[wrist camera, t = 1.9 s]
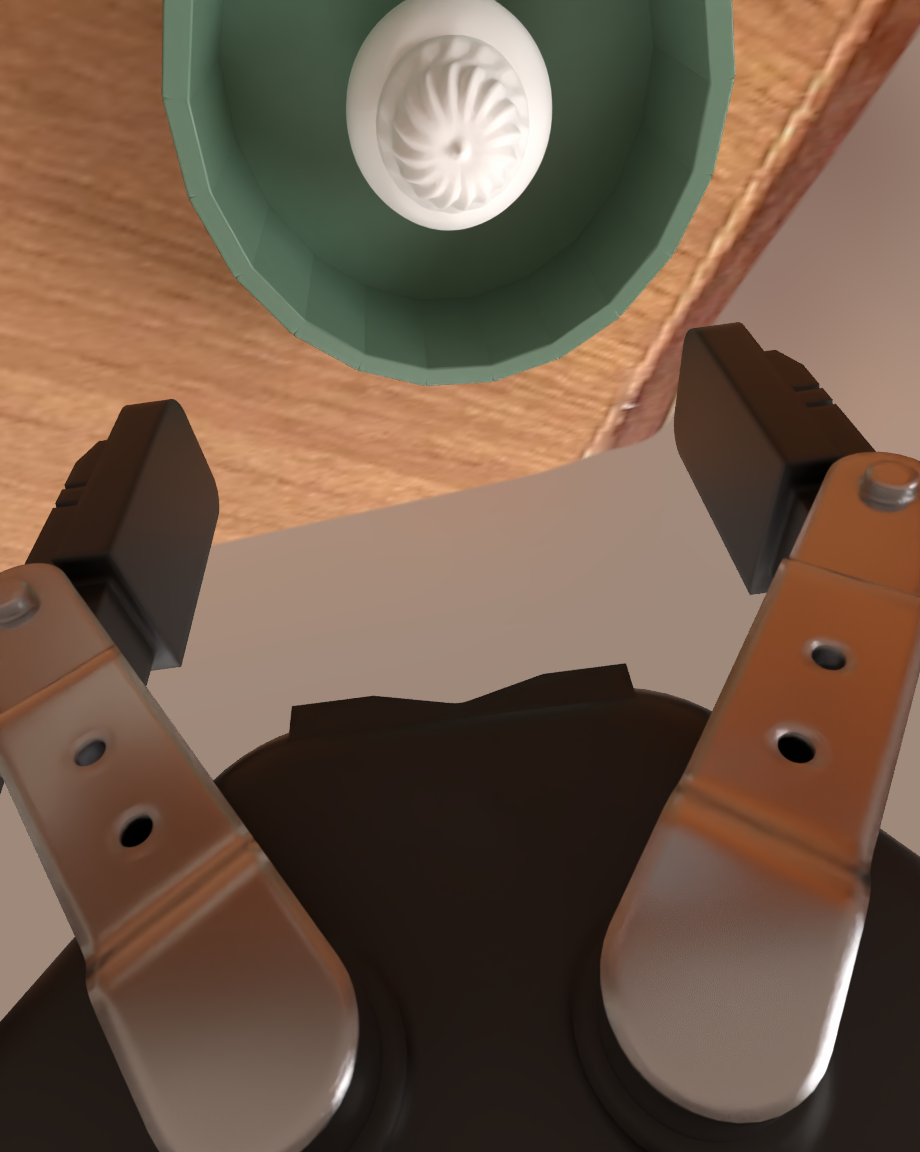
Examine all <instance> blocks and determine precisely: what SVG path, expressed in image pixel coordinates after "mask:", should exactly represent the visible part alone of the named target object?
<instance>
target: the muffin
mask: <svg viewBox="0 0 920 1152" xmlns="http://www.w3.org/2000/svg"><path fill="white" fill-rule="evenodd" d="M346 120H347V130H348V135H349V140H350V144H351V148H352V151H353V154H354V157H355V160H356V162H357V164H358V167H359V168H360V170H361V172H362V174H363V176H364V178H365V179H366V181H367V182H368V184H369V185H370V187H371V188H372V189H373V190H374V192H375V193H376V194H377V195H378V196H379V197H380V198H381V199H382V200H383V201H384V202H385V203H386V204H387V205H388V206H389V207H390V208H391V209H393V210H394V211H395V212H397V213H398V214H400V215H401V216H403V217H404V218H406V219H408V220H410V221H412V222H414V223H416V224H418V225H421V226H424V227H427V228H431V229H437V230H461V229H466V228H470V227H473V226H476V225H479V224H482V223H484V222H486V221H488V220H490V219H492V218H493V217H495V216H497V215H498V214H500V213H501V212H502V211H504V210H505V209H506V208H508V207H509V206H510V205H511V204H512V203H513V202H514V201H515V200H516V199H517V198H518V197H519V196H520V195H521V194H522V192H523V191H524V190H525V189H526V187H527V186H528V184H529V183H530V181H531V180H532V178H533V177H534V175H535V173H536V171H537V170H538V168H539V166H540V163H541V161H542V159H543V156H544V154H545V151H546V147H547V144H548V140H549V135H550V130H551V122H552V95H551V87H550V81H549V76H548V72H547V69H546V65H545V63H544V60H543V57H542V55H541V53H540V51H539V49H538V47H537V45H536V43H535V41H534V40H533V38H532V37H531V35H530V33H529V32H528V31H527V29H526V28H525V27H524V26H523V25H522V23H521V22H520V21H519V20H518V19H517V18H516V17H515V16H514V15H513V14H512V13H511V12H509V11H508V10H507V9H506V8H504V7H503V6H502V5H501V4H499V3H498V2H496V1H495V0H405V1H403V2H402V3H400V4H399V5H397V6H396V7H395V8H393V9H392V10H391V11H390V12H388V13H387V14H386V15H385V16H384V17H383V18H382V19H381V20H380V21H379V22H378V23H377V24H376V26H375V27H374V28H373V29H372V30H371V32H370V33H369V34H368V36H367V37H366V39H365V40H364V42H363V44H362V46H361V48H360V49H359V51H358V54H357V56H356V58H355V61H354V63H353V66H352V70H351V73H350V77H349V82H348V88H347V99H346Z"/></svg>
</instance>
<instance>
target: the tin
mask: <svg viewBox="0 0 920 1152" xmlns="http://www.w3.org/2000/svg"><path fill="white" fill-rule="evenodd" d="M403 1H405V0H163V34H162V96H163V104H164V108H165V112H166V115H167V119H168V123H169V127H170V130H171V134H172V138H173V142H174V146H175V149H176V153H177V157H178V161H179V165H180V168H181V172H182V176H183V180H184V183H185V187H186V191H187V195H188V196H189V200H190V202H191V204H192V205H193V207H194V209H195V210H196V212H197V214H198V216H199V217H200V219H201V221H202V223H203V224H204V226H205V228H206V229H207V231H208V233H209V235H210V236H211V238H212V240H213V242H214V243H215V245H216V247H217V249H218V250H219V252H220V254H221V255H222V257H223V259H224V261H225V262H226V264H227V266H228V268H229V269H230V271H231V273H232V274H233V276H234V277H236V279H237V280H238V281H239V282H240V283H241V284H242V285H243V286H244V287H245V288H246V289H247V290H248V291H249V292H250V293H251V294H252V295H253V296H254V297H255V298H256V299H257V300H258V301H259V302H260V303H261V304H262V305H263V306H264V307H265V308H266V309H267V310H268V311H269V312H270V313H271V314H272V315H273V316H274V317H275V318H276V319H277V320H278V321H279V322H280V323H281V324H282V325H283V326H284V327H285V328H286V329H287V330H288V331H289V332H290V333H292V334H294V336H296V337H298V338H299V339H301V340H303V341H305V342H307V343H308V344H310V345H312V346H314V347H316V348H318V349H319V350H321V351H323V352H325V353H327V354H328V355H330V356H332V357H334V358H336V359H337V360H339V361H341V362H343V363H345V364H346V365H348V366H350V367H352V368H354V369H356V370H357V369H358V371H361V372H365V373H370V374H374V375H379V376H383V377H387V378H392V379H396V380H401V381H405V382H409V383H414V384H418V385H423V386H425V385H426V386H433V385H449V384H466V383H483V382H492V381H497V380H500V379H503V378H506V377H508V376H511V375H514V374H517V373H520V372H523V371H526V370H529V369H531V368H534V367H537V366H540V365H543V364H546V363H549V362H551V361H554V360H557V359H558V358H559V359H560V358H562V357H563V356H565V355H566V354H567V353H569V352H570V351H572V350H573V349H575V348H576V347H578V346H579V345H581V344H582V343H583V342H585V341H586V340H588V339H589V338H591V337H592V336H594V335H595V334H597V333H598V332H599V331H601V330H602V329H604V328H605V327H607V326H608V325H610V324H611V323H612V322H614V321H615V320H617V319H618V318H619V317H620V316H621V315H622V314H623V313H624V312H625V310H626V309H627V308H628V307H629V306H630V305H631V303H632V302H633V301H634V300H635V299H636V298H637V296H638V295H639V294H640V293H641V292H642V291H643V290H644V288H645V287H646V286H647V285H648V284H649V283H650V281H651V280H652V279H653V278H654V277H655V276H656V274H657V273H658V272H659V271H660V270H661V269H662V268H663V266H664V265H665V264H666V263H667V262H668V261H669V259H670V258H671V257H672V254H674V253H675V251H676V249H677V247H678V245H679V243H680V241H681V239H682V237H683V235H684V233H685V231H686V229H687V227H688V225H689V223H690V221H691V219H692V217H693V215H694V213H695V211H696V209H697V207H698V205H699V203H700V201H701V199H702V197H703V195H704V193H705V191H706V189H707V187H708V185H709V183H710V181H711V179H712V176H713V175H712V174H713V173H714V170H715V165H716V160H717V156H718V151H719V147H720V142H721V138H722V133H723V129H724V124H725V119H726V115H727V110H728V106H729V101H730V97H731V92H732V88H733V83H734V76H735V55H734V32H733V9H732V0H495V1H496V2H498V3H499V4H501V5H502V6H503V7H504V8H506V9H507V10H508V11H509V12H511V13H512V14H513V15H514V16H515V17H516V18H517V19H518V20H519V21H520V22H521V23H522V25H523V26H524V27H525V28H526V29H527V31H528V32H529V33H530V35H531V37H532V38H533V40H534V41H535V43H536V45H537V47H538V49H539V51H540V53H541V55H542V57H543V60H544V63H545V65H546V69H547V72H548V76H549V81H550V87H551V95H552V122H551V130H550V135H549V140H548V144H547V147H546V151H545V154H544V156H543V159H542V161H541V163H540V166H539V168H538V170H537V171H536V173H535V175H534V177H533V178H532V180H531V181H530V183H529V184H528V186H527V187H526V189H525V190H524V191H523V192H522V194H521V195H520V196H519V197H518V198H517V199H516V200H515V201H514V202H513V203H512V204H511V205H510V206H509V207H508V208H506V209H505V210H504V211H502V212H501V213H500V214H498V215H497V216H495V217H493V218H492V219H490V220H488V221H486V222H484V223H482V224H479V225H476V226H473V227H470V228H466V229H461V230H437V229H431V228H427V227H424V226H421V225H418V224H416V223H414V222H412V221H410V220H408V219H406V218H404V217H403V216H401V215H400V214H398V213H397V212H395V211H394V210H393V209H391V208H390V207H389V206H388V205H387V204H386V203H385V202H384V201H383V200H382V199H381V198H380V197H379V196H378V195H377V194H376V193H375V192H374V190H373V189H372V188H371V187H370V185H369V184H368V182H367V181H366V179H365V178H364V176H363V174H362V172H361V170H360V168H359V167H358V164H357V162H356V160H355V157H354V154H353V151H352V148H351V144H350V140H349V135H348V130H347V120H346V99H347V88H348V82H349V77H350V73H351V70H352V66H353V63H354V61H355V58H356V56H357V54H358V51H359V49H360V48H361V46H362V44H363V42H364V40H365V39H366V37H367V36H368V34H369V33H370V32H371V30H372V29H373V28H374V27H375V26H376V24H377V23H378V22H379V21H380V20H381V19H382V18H383V17H384V16H385V15H386V14H387V13H388V12H390V11H391V10H392V9H393V8H395V7H396V6H397V5H399V4H400V3H402V2H403Z"/></svg>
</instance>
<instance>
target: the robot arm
mask: <svg viewBox="0 0 920 1152" xmlns="http://www.w3.org/2000/svg"><path fill="white" fill-rule="evenodd" d="M674 433H675V440H676V445H677V449H678V452H679V455H680V457H681V459H682V460H683V463H684V465H685V467H686V469H687V471H688V472H689V474H690V477H691V478H692V480H693V483H694V485H695V487H696V489H697V490H698V492H699V494H700V496H701V498H702V500H703V502H704V504H705V506H706V508H707V510H708V512H709V514H710V516H711V518H712V520H713V522H714V524H715V526H716V528H717V530H718V532H719V534H720V536H721V538H722V540H723V542H724V544H725V546H726V548H727V550H728V552H729V554H730V556H731V558H732V560H733V562H734V564H735V566H736V568H737V570H738V572H739V574H740V576H741V578H742V580H743V582H744V584H745V586H746V588H747V590H748V592H749V594H750V595H752V594H760V593H766V596H765V598H764V600H763V602H762V604H761V607H760V609H759V611H758V613H757V615H756V617H755V620H754V622H753V624H752V626H751V628H750V631H749V633H748V635H747V637H746V639H745V641H744V643H743V646H742V648H741V650H740V652H739V654H738V657H737V659H736V661H735V663H734V665H733V667H732V670H731V672H730V674H729V676H728V678H727V681H726V683H725V685H724V687H723V689H722V692H721V694H720V696H719V698H718V700H717V702H716V704H715V707H714V709H713V711H710V710H708V709H706V708H704V707H702V706H699V705H697V704H695V703H692V702H690V701H687V700H685V699H681V698H678V697H675V696H672V695H669V694H665V693H660V692H655V691H650V690H645V689H635V688H633V685H632V682H631V679H630V675H629V672H628V669H627V666H626V664H618V665H610V666H602V667H595V668H586V669H578V670H571V671H563V672H555V673H547V674H542V675H539V676H536V677H534V678H531V679H528V680H525V681H523V682H520V683H517V684H514V685H511V686H509V687H506V688H503V689H501V690H498V691H495V692H492V693H490V694H487V695H484V696H481V697H479V698H475V699H473V700H470V701H467V702H463V703H443V702H433V701H432V702H431V701H422V700H412V699H401V698H391V697H380V696H369V697H361V698H353V699H346V700H337V701H329V702H322V703H314V704H306V705H298V706H292V711H291V720H290V730H289V733H287V734H285V735H282V736H279V737H277V738H275V739H273V740H271V741H269V742H267V743H265V744H263V745H261V746H259V747H257V748H256V749H254V750H253V751H251V752H249V753H248V754H246V755H244V756H243V757H242V758H240V759H239V760H237V761H236V762H235V763H233V764H232V765H231V766H229V767H228V768H227V769H225V770H224V771H223V772H222V773H221V774H220V775H219V776H218V777H217V778H216V779H215V780H213V779H212V778H211V777H210V775H209V774H208V772H207V771H206V770H205V768H204V767H203V765H202V764H201V763H200V761H199V760H198V758H197V757H196V756H195V754H194V753H193V751H192V750H191V749H190V747H189V746H188V745H187V743H186V742H185V740H184V739H183V737H182V736H181V735H180V733H179V732H178V731H177V729H176V728H175V726H174V725H173V724H172V722H171V721H170V719H169V718H168V717H167V715H166V714H165V712H164V711H163V710H162V708H161V707H160V705H159V704H158V703H157V701H156V700H155V699H154V698H153V696H152V695H151V693H150V692H149V690H148V689H147V687H146V685H147V682H148V678H149V675H150V671H152V670H160V669H168V668H175V667H181V665H182V661H183V657H184V653H185V649H186V645H187V641H188V637H189V632H190V629H191V625H192V620H193V616H194V612H195V608H196V604H197V600H198V596H199V592H200V588H201V584H202V580H203V576H204V572H205V568H206V564H207V559H208V556H209V552H210V548H211V544H212V539H213V535H214V531H215V527H216V523H217V519H218V515H219V497H218V491H217V487H216V483H215V480H214V477H213V475H212V473H211V470H210V468H209V466H208V464H207V461H206V459H205V457H204V455H203V452H202V450H201V448H200V446H199V443H198V441H197V439H196V437H195V434H194V432H193V430H192V428H191V425H190V423H189V421H188V419H187V416H186V414H185V412H184V410H183V408H182V407H181V405H180V404H179V403H178V402H177V401H176V400H174V399H169V400H162V401H154V402H147V403H140V404H133V405H126V406H124V407H123V408H122V410H121V412H120V414H119V416H118V418H117V420H116V422H115V425H114V427H113V429H112V431H111V433H110V435H109V437H108V439H107V440H104V441H99V442H97V443H96V444H95V445H94V446H93V447H92V448H91V449H90V450H89V451H88V452H87V453H86V454H85V455H84V456H82V457H81V458H80V459H79V460H78V461H77V462H76V463H75V465H74V467H73V469H72V471H71V473H70V475H69V477H68V479H67V481H66V483H65V489H63V490H62V491H61V493H60V495H59V497H58V499H57V501H56V503H55V504H56V508H53V509H52V511H51V513H50V515H49V517H48V519H47V521H46V523H45V525H44V527H43V529H42V531H41V533H40V535H39V537H38V539H37V541H36V543H35V545H34V547H33V549H32V551H31V553H30V554H29V556H28V558H27V560H26V562H25V564H24V565H21V566H17V567H13V568H11V569H8V570H5V571H3V572H1V573H0V793H1V790H2V787H3V784H4V782H5V784H6V786H7V788H8V790H9V793H10V795H11V797H12V799H13V801H14V804H15V806H16V808H17V810H18V812H19V814H20V817H21V819H22V821H23V823H24V825H25V827H26V830H27V832H28V834H29V836H30V839H31V841H32V843H33V845H34V847H35V850H36V852H37V854H38V856H39V858H40V861H41V863H42V865H43V867H44V869H45V871H46V874H47V876H48V878H49V880H50V882H51V884H52V887H53V889H54V891H55V893H56V896H57V898H58V900H59V902H60V904H61V907H62V909H63V911H64V913H65V915H66V917H67V920H68V922H69V924H70V926H71V928H72V930H73V933H74V935H75V937H74V938H73V940H72V941H71V942H70V943H69V944H68V945H67V946H66V948H65V949H64V950H63V951H62V952H61V953H60V954H59V956H58V957H57V958H56V959H55V960H54V961H53V962H52V963H51V965H50V966H49V967H48V968H47V969H46V970H45V971H44V973H43V974H42V975H41V976H40V977H39V979H37V981H36V982H35V983H34V984H33V985H32V986H31V987H30V989H29V990H28V991H27V992H26V993H25V994H24V995H23V997H22V998H21V999H20V1000H19V1001H18V1002H17V1003H16V1005H15V1006H14V1007H13V1008H12V1009H11V1010H10V1011H9V1012H8V1014H7V1015H6V1016H5V1017H4V1018H3V1019H2V1020H1V1022H0V1152H920V857H919V856H918V855H917V854H915V853H914V852H912V851H911V850H910V849H908V848H907V847H905V846H904V845H903V844H901V843H900V842H898V841H897V840H896V839H894V838H893V837H891V836H890V835H888V834H887V833H886V832H884V831H883V830H882V829H880V825H881V821H882V817H883V813H884V809H885V805H886V802H887V798H888V794H889V790H890V786H891V782H892V778H893V774H894V770H895V766H896V763H897V759H898V755H899V751H900V747H901V743H902V739H903V735H904V731H905V727H906V724H907V720H908V715H909V712H910V708H911V704H912V700H913V696H914V692H915V688H916V684H917V681H918V677H919V673H920V461H918V460H916V459H913V458H910V457H907V456H903V455H899V454H893V453H886V452H876V451H875V450H874V449H873V448H872V446H871V445H870V444H869V443H868V442H867V440H866V439H865V438H864V437H863V436H862V434H861V433H860V432H859V431H858V430H857V428H856V427H855V426H854V425H853V424H852V423H851V421H850V420H849V419H848V418H847V417H846V415H845V414H844V413H843V412H842V411H841V409H840V408H839V407H838V406H837V405H836V404H833V403H832V399H831V398H830V396H829V395H828V394H827V393H826V392H825V390H824V389H823V388H819V383H818V382H817V381H816V380H815V378H814V377H813V376H812V375H811V374H810V372H809V371H808V370H807V369H806V368H805V367H804V365H802V364H801V363H799V362H797V361H795V360H793V359H791V358H790V357H788V356H786V355H784V354H782V353H780V352H778V351H777V350H771V351H763V349H762V348H761V347H760V345H759V344H758V343H757V342H756V340H755V339H754V338H753V337H752V335H751V334H750V333H749V331H748V330H747V329H746V328H745V326H744V325H743V324H742V323H740V322H736V323H729V324H722V325H714V326H707V327H700V328H693V329H690V330H689V331H688V332H687V334H686V337H685V340H684V344H683V351H682V359H681V367H680V375H679V383H678V391H677V399H676V407H675V415H674Z"/></svg>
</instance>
